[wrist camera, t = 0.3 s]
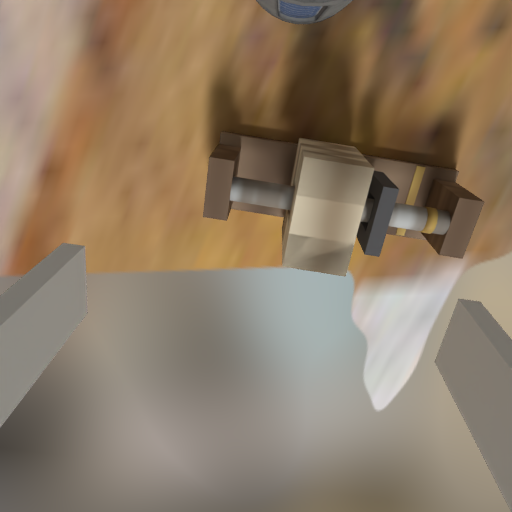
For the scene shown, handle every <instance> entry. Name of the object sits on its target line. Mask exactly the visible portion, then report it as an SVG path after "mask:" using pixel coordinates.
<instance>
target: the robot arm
mask: <svg viewBox="0 0 512 512" xmlns="http://www.w3.org/2000/svg"><path fill="white" fill-rule="evenodd" d="M87 311H88V310H87V285H86V261H85V246H81V245H74V244H67V243H62V244H61V245H60V246H59V247H58V248H56V249H55V250H54V251H53V252H52V253H50V254H49V255H48V256H47V257H46V258H44V259H43V260H42V261H41V262H40V263H38V264H37V265H36V266H35V267H34V268H33V269H31V270H30V271H29V272H28V273H27V274H25V275H24V276H23V277H22V278H21V279H19V280H18V281H17V282H16V283H15V284H13V285H12V286H11V287H10V288H9V289H7V290H6V291H5V292H4V293H3V294H2V295H0V427H1V426H2V424H3V423H4V422H5V421H6V419H7V418H8V417H9V415H10V414H11V413H12V411H13V410H14V409H15V407H16V406H17V405H18V403H19V402H20V401H21V400H22V398H23V397H24V396H25V394H26V393H27V392H28V390H29V389H30V388H31V387H32V385H33V384H34V382H35V381H36V380H37V379H38V377H39V376H40V375H41V373H42V372H43V371H44V369H45V368H46V367H47V366H48V364H49V363H50V362H51V360H52V359H53V358H54V356H55V355H56V354H57V353H58V351H59V350H60V349H61V347H62V346H63V345H64V343H65V342H66V341H67V339H68V338H69V337H70V335H71V334H72V333H73V332H74V330H75V329H76V328H77V326H78V325H79V324H80V322H81V321H82V320H83V319H84V317H85V316H86V315H87V313H88V312H87ZM435 363H436V365H437V367H438V369H439V371H440V373H441V375H442V377H443V379H444V381H445V383H446V385H447V387H448V389H449V391H450V393H451V395H452V397H453V399H454V401H455V403H456V405H457V407H458V409H459V411H460V412H461V414H462V416H463V418H464V420H465V422H466V424H467V426H468V428H469V430H470V432H471V434H472V436H473V438H474V440H475V442H476V444H477V446H478V448H479V450H480V452H481V454H482V455H483V458H484V460H485V462H486V464H487V466H488V467H489V469H490V471H491V473H492V475H493V477H494V479H495V481H496V483H497V485H498V487H499V489H500V491H501V493H502V495H503V497H504V499H505V501H506V503H507V505H508V507H509V509H510V511H511V512H512V340H511V338H510V337H509V336H508V335H507V334H506V332H505V331H504V330H503V329H502V327H501V326H500V325H499V324H498V323H497V321H496V320H495V319H494V318H493V317H492V315H491V314H490V313H489V312H488V311H487V309H486V308H485V307H484V306H483V304H482V303H481V302H479V301H471V300H464V299H458V302H457V304H456V307H455V310H454V312H453V315H452V317H451V320H450V323H449V325H448V328H447V330H446V333H445V336H444V338H443V341H442V344H441V346H440V349H439V352H438V354H437V357H436V359H435Z"/></svg>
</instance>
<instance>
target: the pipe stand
mask: <svg viewBox="0 0 512 512" xmlns="http://www.w3.org/2000/svg"><path fill="white" fill-rule="evenodd" d="M297 146H298V144H297V143H291V142H284V141H278V140H272V139H266V138H260V137H254V136H248V135H242V134H236V133H230V132H224V131H222V132H221V135H220V144H219V145H218V146H217V148H216V149H215V150H214V152H213V153H212V154H211V155H210V157H209V165H208V174H207V184H206V193H205V203H204V212H203V217H207V218H213V219H220V220H226V221H227V219H228V216H229V213H230V210H231V209H236V210H242V211H248V212H254V213H260V214H267V215H273V216H279V217H284V215H285V210H291V205H292V200H293V195H294V189H295V186H290V183H291V178H292V173H293V167H294V162H295V157H296V152H297ZM362 155H363V156H364V157H365V158H366V160H367V161H368V162H369V163H370V164H371V165H372V166H373V167H374V171H380V172H383V173H384V174H385V175H386V176H387V177H388V178H389V179H390V180H391V181H392V182H393V183H394V184H395V185H396V186H397V187H398V188H399V192H398V196H397V199H396V202H395V206H394V209H393V212H392V216H391V219H390V223H389V226H388V229H387V233H386V234H391V235H397V236H403V237H409V238H415V239H422V240H427V241H428V242H429V243H430V244H431V246H432V247H433V248H434V249H435V250H436V252H437V253H438V254H439V255H443V256H450V257H456V258H462V259H463V256H464V253H465V251H466V248H467V246H468V243H469V241H470V238H471V235H472V233H473V230H474V228H475V225H476V222H477V220H478V217H479V215H480V212H481V210H482V207H483V204H484V201H482V200H481V199H480V198H478V197H477V196H475V195H474V194H472V193H471V192H469V191H468V190H466V189H465V188H463V187H462V186H460V185H459V184H457V183H456V179H457V176H458V173H459V171H457V170H455V169H449V168H443V167H437V166H431V165H425V164H419V163H413V162H406V161H400V160H394V159H388V158H382V157H376V156H370V155H364V154H362ZM374 201H375V199H370V198H366V202H365V206H364V209H363V213H362V217H361V221H360V222H366V223H368V222H369V219H370V215H371V212H372V208H373V204H374Z"/></svg>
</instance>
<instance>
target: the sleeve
mask: <svg viewBox="0 0 512 512" xmlns="http://www.w3.org/2000/svg"><path fill="white" fill-rule="evenodd" d="M373 172H374V167H373V166H372V165H371V164H370V163H369V162H368V161H367V160H366V158H365V157H364V156H363V155H362V154H361V153H360V152H359V151H358V150H357V148H356V147H353V146H347V145H341V144H335V143H329V142H323V141H317V140H311V139H304V138H299V141H298V146H297V152H296V157H295V162H294V167H293V173H292V178H291V183H290V186H295V189H294V195H293V200H292V205H291V210H285V215H284V220H283V226H282V266H283V267H289V268H296V269H302V270H308V271H314V272H321V273H327V274H333V275H339V276H346V273H347V269H348V265H349V262H350V258H351V254H352V251H353V247H354V243H355V239H356V236H357V232H358V228H359V224H360V221H361V217H362V213H363V209H364V206H365V202H366V198H367V195H368V191H369V187H370V183H371V180H372V176H373Z"/></svg>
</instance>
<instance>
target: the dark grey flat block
mask: <svg viewBox="0 0 512 512" xmlns="http://www.w3.org/2000/svg"><path fill="white" fill-rule="evenodd" d="M398 192H399V188H398V187H397V186H396V185H395V184H394V183H393V182H392V181H391V180H390V179H389V178H388V177H387V176H386V175H385V174H384V173H383V172H380V171H374V172H373V176H372V180H371V183H370V187H369V191H368V195H367V198H370V199H375V201H374V204H373V208H372V212H371V215H370V219H369V222H368V223H366V222H360V224H359V228H358V232H357V238H358V241H359V243H360V245H361V247H362V250H363V252H364V254H366V255H372V256H378V257H379V256H380V253H381V249H382V246H383V243H384V239H385V236H386V233H387V229H388V226H389V223H390V219H391V216H392V212H393V209H394V206H395V202H396V199H397V196H398Z"/></svg>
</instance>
